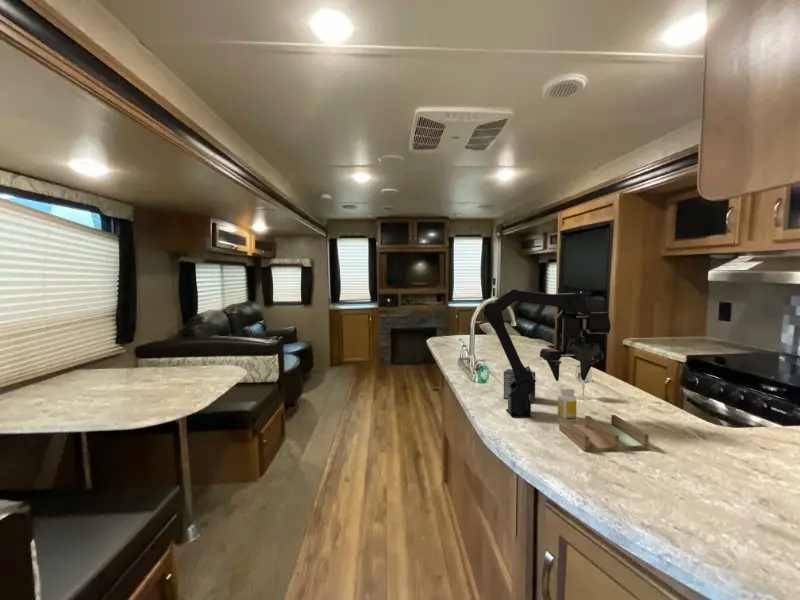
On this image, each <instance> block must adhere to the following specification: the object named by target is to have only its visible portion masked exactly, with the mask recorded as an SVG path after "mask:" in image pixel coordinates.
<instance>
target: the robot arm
mask: <svg viewBox="0 0 800 600" xmlns="http://www.w3.org/2000/svg"><path fill="white" fill-rule="evenodd" d="M515 302H521V303H528V304H537V305H545V306H552V307H556V308H559V309H563V310H561V311H560V312H559V313H558V314H556V318H558V319H562V329H561V330H562V331H561V334H559V338H561V346H559V348H558V349H559V350H557V349H554V348H552V347H551V348H541V350H540V351H539V357H540V358H542V359H543V360H544V361H546V362H547V364H548V366H549V368H550V370H551V373H552V375H553V378H554V381H556V382H559V380H560V365H561V364H562V361H561V358H576V359H577V360H579V365H580V369H581V378H582V380H585V379H586V376H587V374H588V372H589V370H590V368H591V369H592V366H593V365H594V364H596V363H598V362H600V361H601V360H604V353H603V351H602V350H601V349H600V345H599V344H598V343H596V342H595V343H593V342H592V343H587V342H586V338H585V336H583V330H584V331H586V332H587V334H601V335H604V334H605V335H609V333H610V331H611V328H612V327H611V326H612V325H611V321H610V317H609V312H607V311H600V312H598V311H597V312H591V310H590V309H589V308H588V306H587V305H586V300H585V298H584V297H583V295H582V294H580V293H579V294H578V293H574V292H567V293H566V292H565V293H545V292H535V291H527V290H519V289H514V288H510V289H509V290H508V291H507V292H506V293H505V294H503V295H502V296H500V297H498V298H497V299H496V300H494V301H489V302H487V303H485V304H484V307H483V309H482V310H483V316H484V318H485V319H486V320H487V322H488V323H489V324H490V326H491V327H492V328H493V330H494V331H495V334H496V336H497V338H498V340H499V343H500V345H501V347H502V349H503V351H504V354H505V356H506V358H507V361H508V362H509V364H510V367H511V369H512V370H513V374H514V378H515V381H514V382H513V383H512V384H510V385H509V390H510V394H508V400H507V408H505V411H506V412H507V413H508V414H509V416H510V417H511V418H532V414H531V413H532V403H531V401H530V400H529V399H530V397H529V394H531V393H532V392H533V391H534V389H535V390H536V382H537V380H536V377H535V378H534V376H533V375H532V372H533V371H532V370H531V367H530V365H528V366H525V365H524V364H523V363H522V360H521V358H520V356H519V354H518V351H517V349H516V348H515V345H514V343H513V341H512V339H511V336H510V334H509V332H508V329H507V327H506V324H505V320H504V315H503V312H504V311H505V310H506V309H507V308H509V306H511V305H512V304H513V303H515ZM564 310H566V311H568V312H566V311H564ZM576 313H577V314H579V315H582V316H579V315H578V316H577V314H576ZM534 382H535V383H534Z"/></svg>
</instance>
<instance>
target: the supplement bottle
mask: <svg viewBox="0 0 800 600" xmlns="http://www.w3.org/2000/svg"><path fill="white" fill-rule="evenodd" d="M559 416H563V417H564V418H565V419H567V420H568V421H569V422H570V423H572V422H575V421H576V420H577V396H575V389H574V388H572V387H568V386H563V387H560V394H559V395H558V397H557V418H558V419H559Z"/></svg>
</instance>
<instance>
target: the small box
mask: <svg viewBox="0 0 800 600" xmlns="http://www.w3.org/2000/svg"><path fill="white" fill-rule="evenodd" d="M531 372H532V375H533V376H534V378H535V379H536V371H531ZM514 381H515V378H514V374H513V370H512V368H507V369H506V370H504V371H503V398H502V399H503V400H507V401H508V394H510V390H509V385H510V384H512V383H513V382H514ZM534 383H535V384H536V382H534ZM529 397H530V399H529V400H530V401H531V404H533V402H534V401H535V400H536V388H535V389H534V391H533V392H532V393H531V394H529Z"/></svg>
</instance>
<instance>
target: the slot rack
mask: <svg viewBox="0 0 800 600" xmlns="http://www.w3.org/2000/svg"><path fill="white" fill-rule="evenodd" d="M610 416H611V419H610V424H602V423H601V422H599V421H597V420H596V419H595V418H593V417H591V416H590V415H585V418H584V419H585V422H584V425H574V424H573V423H572V422H570V421H568V420H567V419H565V418H564V417H563V416H559V418H558V424H559V425H558V429H559V432H561V433H562V434H564V435H565V436H566V437H567V438H568V439H569V440H571V442H573V443H574V444H575V445H576V446H577V447H579V448H580V449H581V450H582V451H583V452H585V453H589V452H591V453H592V452H622V451H648V450H649V437H650V435H649V434H648V433H646V432H644V431H642V430H641V429H639V428H638V427H636V426H635V425H633V424H631V423H629V422H628V421H626V420H624V419H623V418H621V417H619V416H617V415H615V414H611V415H610Z"/></svg>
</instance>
